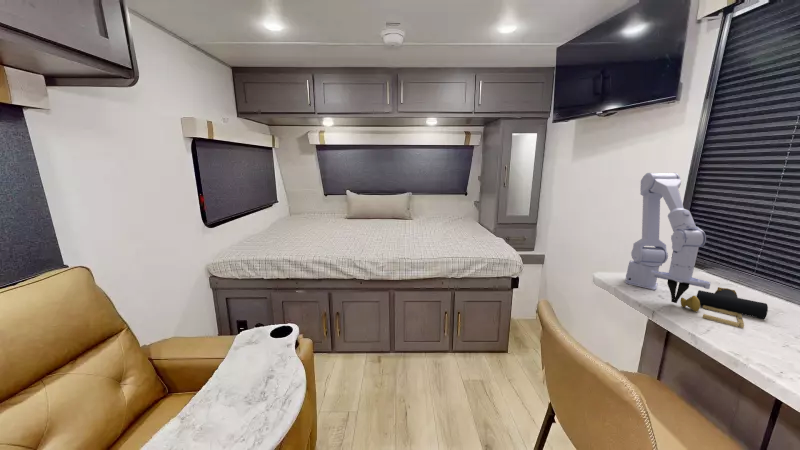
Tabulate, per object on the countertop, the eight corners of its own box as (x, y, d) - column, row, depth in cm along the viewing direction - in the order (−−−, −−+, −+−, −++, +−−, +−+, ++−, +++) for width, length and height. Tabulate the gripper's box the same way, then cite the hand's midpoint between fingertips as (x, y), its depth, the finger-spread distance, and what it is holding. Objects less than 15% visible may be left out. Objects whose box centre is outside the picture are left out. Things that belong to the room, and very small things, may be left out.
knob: (700, 309, 98) (704, 296, 97) (696, 314, 95) (699, 300, 94) (682, 304, 102) (685, 290, 101) (677, 308, 99) (680, 294, 98)
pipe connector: (696, 281, 108) (759, 293, 98) (693, 294, 109) (755, 307, 100) (700, 292, 99) (769, 306, 90) (696, 307, 101) (764, 322, 91)
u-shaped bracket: (702, 317, 93) (703, 314, 93) (702, 307, 99) (703, 304, 99) (743, 328, 87) (744, 325, 87) (740, 316, 94) (741, 313, 93)
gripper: (652, 262, 100) (645, 298, 103) (714, 273, 90) (704, 313, 93) (655, 257, 105) (648, 292, 108) (713, 267, 95) (704, 305, 98)
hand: (674, 301), depth 101 cm, fingers closed
